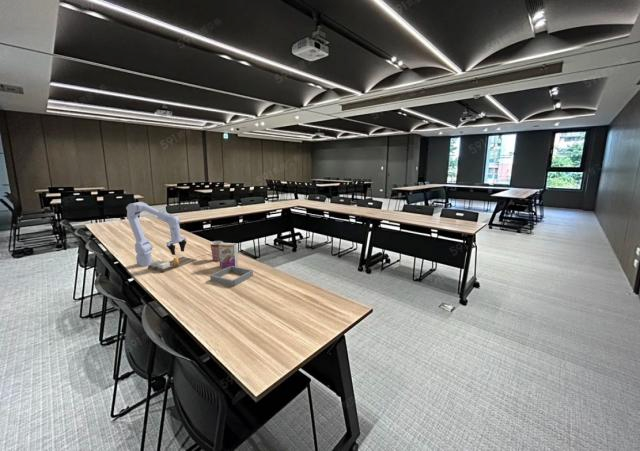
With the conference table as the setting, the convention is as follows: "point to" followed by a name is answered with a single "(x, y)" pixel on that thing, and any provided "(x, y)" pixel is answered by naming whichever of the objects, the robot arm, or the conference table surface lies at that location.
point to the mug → (215, 250)
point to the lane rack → (181, 262)
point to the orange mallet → (167, 264)
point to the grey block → (155, 263)
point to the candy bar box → (228, 254)
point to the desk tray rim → (218, 279)
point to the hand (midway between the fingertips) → (178, 253)
